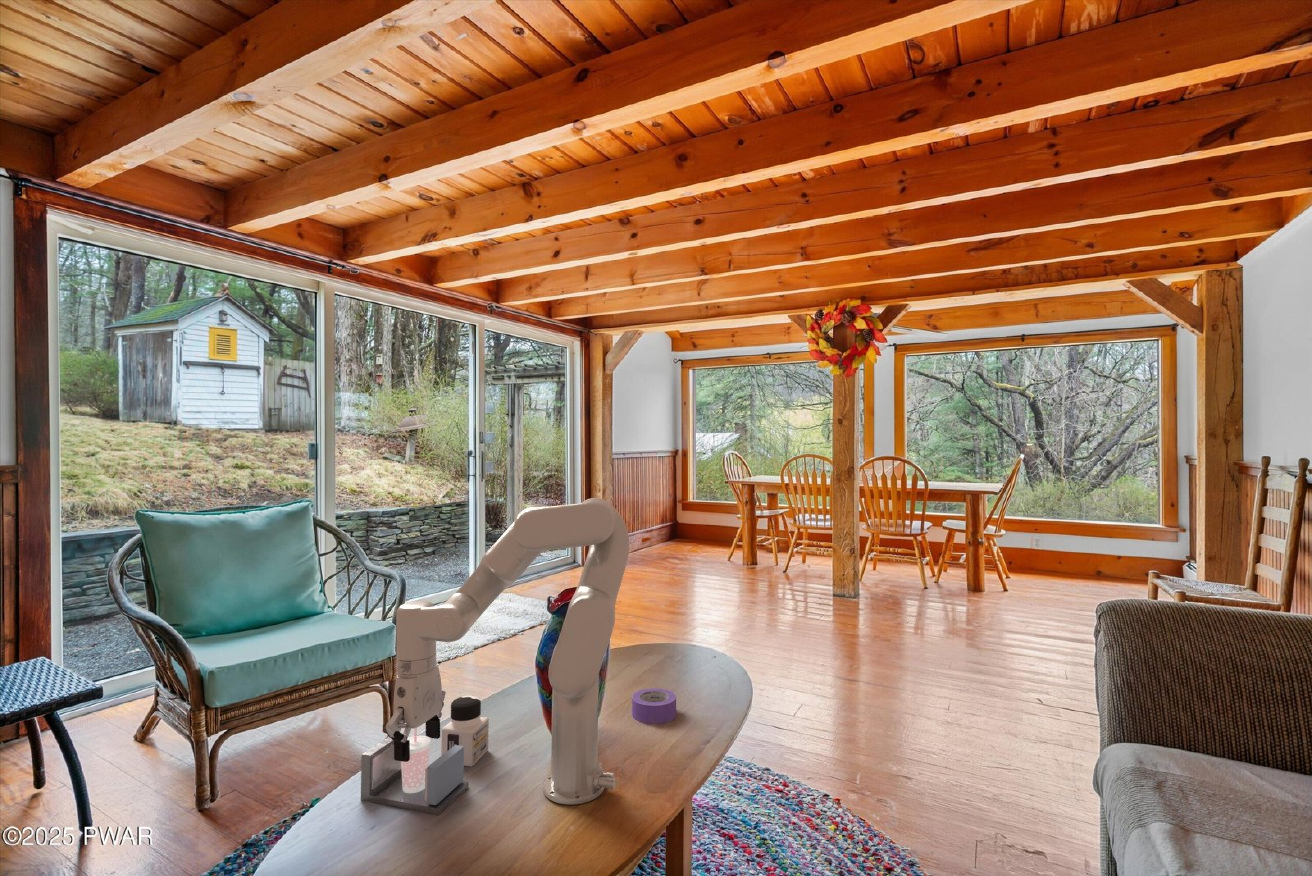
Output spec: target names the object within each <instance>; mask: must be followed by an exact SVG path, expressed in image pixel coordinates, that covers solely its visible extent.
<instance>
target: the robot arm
mask: <svg viewBox="0 0 1312 876" xmlns="http://www.w3.org/2000/svg"><path fill="white" fill-rule="evenodd" d="M577 547H578V548H579V547H588V552H587V556H586V559H585V561H584V565H583V569H582V572H581V575H580V577H579V582H578V584H577V587H576V589H575V592H574V594H573V595H572V598H571V599H570V602H569V603H568V608H567V611H566V614H565V618H564V620H563V623H562V627H561V631H560V633H559V636H558V639H557V642H556V644H555V646H554V649H553V651H552V655H551V659H550V663H549V666H548V680H549V684H550V686H551V688H552V691H551V692H552V694H551V696H552V697H551V702H552V703H551V704H552V705H551V752H550V753H551V755H550V756H551V757H550V758H551V760H550V761H551V762H550V763H551V764H550V768H551V769H550V771H551V772H550V775H548V776H547V777H546V779H544V782H543V787H542V788H543V789H542V790H543V794H544V795H545V796H546V797H545V798H547V799H549V800H550V801H552V802H554V803H557V804H561V805H567V806H568V805H571V806H572V805H581V804H585V803H588V802H591V801H593V800H595V799H596V798H598V797H600V795H602V794H603V792H604V791H605V789H609V790H615V789H616V785H617V779H616V778H615V773H614V772H609V771H604V769H603V762H599V761H598V755H599V753H598V751H599V750H598V749H599V748H598V747H599V745H598V744H599V743H598V742H599V739H598V738H599V688H600V687H599V682H600V681H599V680H600V679H599V678H600V670H601V669H602V665H603V662H604V658H605V656H606V652H607V649H608V647H609V644H610V640H611V637H612V634H613V631H614V626H615V621H616V604H617V603H616V602H617V598H618V594H619V592H620V588H621V585H622V582H623V578H624V574H625V571H626V567H627V563H628V559H629V554H630V538H629V530H628V529H627V526H626V523H625V520H624V519H623V517H622V515H621V514H620V513H619V512H618V510H617V509H616V508H615V507H614V506H613V505H612V504H611V503H610V502H609V501H607V500H605V499H603V498H599V497H591V498H588V499H585V500H583V501H582V502H581V503H571V504H570V503H569V504H562V505H553V506H552V505H547V504H544V503H535V504H532V505H529V506H528V507H526V508H525V509H523V510H522V511H520V513H518V515H517V517H515V520H514V521H513V522H512V523H511V524H510V526H509V527H508V528H507V529H506V530H505V531H504V532H503V533H502V535H501V536H500V537H499V538H498V539H497V540H496V541H495V542H494V543H493V544H492V545H491V547H489V549H488V550H487V551H486V552H485V554H484V555H483V557H482V558H481V560H480V562H479V564H478V566H477V567H476V569H475V570H474V571H473V573H472V574H471V575H469V577H468V578H467V579H466V580H465V581H464V583H463V584H461V586H460V587H459V588H458V589H457V590H456V591H455V592H454V593H453V594H452V595H451V596H450V597H449V598H448V599H447V600H446V601H445V602H444V603H442V604H440V605H437V606H436V605H434V603H433V602H431V601H428V600H415V601H409V602H405V603H403V604H400V606H398V607H397V610H396V612H395V613H396V618H395V619H396V620H395V621H396V623H395V624H396V634H395V635H396V677H395V678H396V679H395V685H394V691H393V692H394V695H393V715H392V716H391V717H390V719H389V720H388V722H387V723H386V724H385V730H386V732H387V735H388V737H390V738H391V740H392V741H394V760H396V761H403V762H408V761H409V760H410V741H409V740H407V738H409V737H410V733H411V731H412V729H413V730H414V729H415V728H417V729H418V728H420V727H421V726H422V725H423V724H425V736H427V737H430V738H431V739H435V740H438V739H440V738H441V718H442V715H443V713H442V710H443V708H444V705H445V703H444V702H445V698H446V695H447V693H446V690H442V689H443V688H442V686H443V685H442V679H441V673H440V672H441V671H440V669H439V665H438V663H437V642H441V643H453V642H457V641H460V640H461V639H462V638H463V637H465V636H466V634H467V633H468V631H470V629H471V628H472V626H473V625H475V623H476V622H477V621H478V619H479V618H480V617H481V616H482V615H483V614H484V613H485V612H486V610H488V608H489V607H490V606H491V605H492V604H493V602H495V600H497V598H498V597H499V596H500V595H501V594H502V593H503V592H504V591H505V590H506V589H507V588H509V587H510V586H512V585H514V583H515V582H516V581H517V580H518V579H519V578H520V577H521V576H522V574H524V572H525V571H527V569H528V568H529V567H530V566H531V565H532V564H533V562H534V561H535V560H536V559H537V558H538V557H539V556H540V555H541V554H542V553H543V551H550V550H554V551H555V550H561V549H562V550H563V549H570V548H577ZM402 729H404V731H403V732H401V731H402ZM402 733H403V734H402Z"/></svg>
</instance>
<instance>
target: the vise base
mask: <svg viewBox="0 0 1312 876" xmlns="http://www.w3.org/2000/svg"><path fill="white" fill-rule="evenodd" d="M401 733H402V734H403V733H404V732H401ZM360 759H361V763H360V764H361V766H360V770H361V771H360V801H364V802H369V803H374V804H379V805H384V806H385V805H386V806H389V807H395V808H399V809H400V808H401V809H405V810H411V811H415V812H420V813H425V814H431V815H436V816H440V815H441V814H442V813H443V812H444V811H445V810H446V809H447V808H449V807H450V805H452V804H453V803H454V802H455V801H456V800H457V799H458V798H460V796H461V795H463V794H464V793H465V792H466V791H467V790H468V789H469V786H470V784H469V783H470V782H469V781H465V780H463V781H462V782H461V783H460V784H459V785H458V786H457V787H456V788H455V789H453V790H452V791H451V792H450V793H449V794H448V795H447V796H446V797H445V798H443V799H442V800H441V801H440V802H439V803H438V804H437V805H432V804H427V801H425V789H424V790H422V791H420V792H416V793H405V792H404V791H403V789H402V769H401V761H396V760H394V741H392V740H391V738H390V737H389V736H388V737H386V738H384V739H383V740H381V741H380V742H379V743H378V742H377V744H375V745H373V746H372V747H370V748H369V749H368V750H365V752H363V753H361V757H360Z"/></svg>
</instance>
